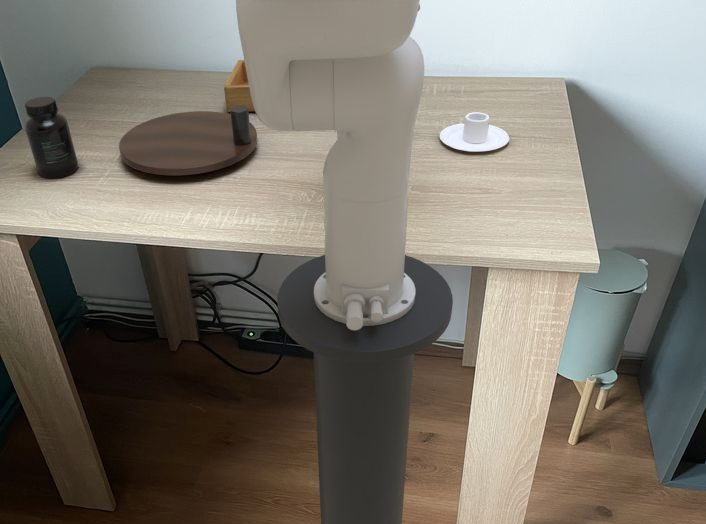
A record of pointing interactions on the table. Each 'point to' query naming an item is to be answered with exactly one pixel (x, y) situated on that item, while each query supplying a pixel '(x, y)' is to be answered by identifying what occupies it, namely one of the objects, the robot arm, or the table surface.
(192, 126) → the turntable
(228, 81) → the tray
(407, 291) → the robot arm
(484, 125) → the candle holder
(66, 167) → the supplement bottle
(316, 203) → the table surface
